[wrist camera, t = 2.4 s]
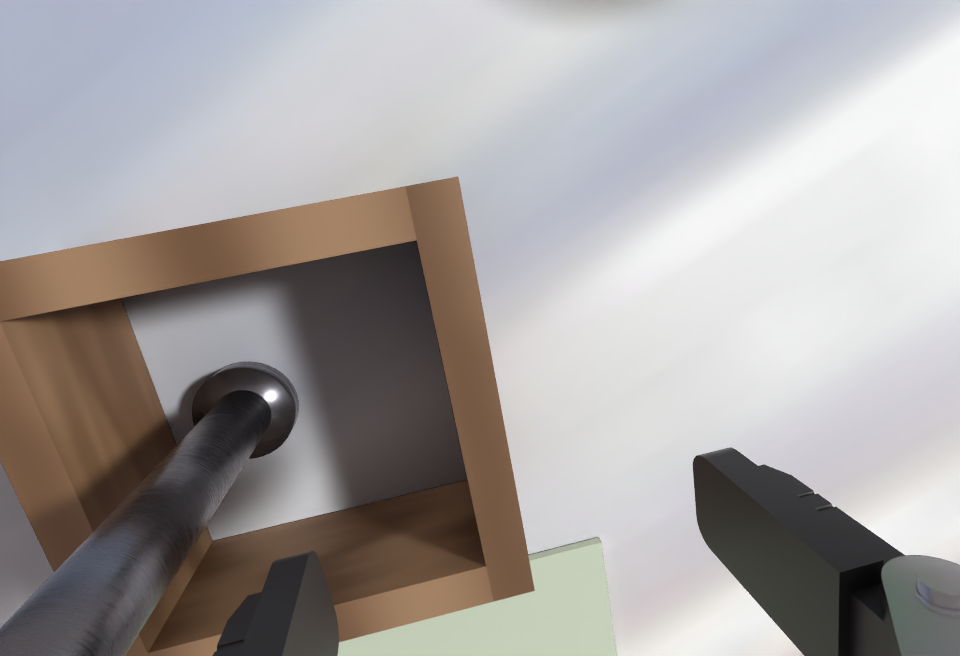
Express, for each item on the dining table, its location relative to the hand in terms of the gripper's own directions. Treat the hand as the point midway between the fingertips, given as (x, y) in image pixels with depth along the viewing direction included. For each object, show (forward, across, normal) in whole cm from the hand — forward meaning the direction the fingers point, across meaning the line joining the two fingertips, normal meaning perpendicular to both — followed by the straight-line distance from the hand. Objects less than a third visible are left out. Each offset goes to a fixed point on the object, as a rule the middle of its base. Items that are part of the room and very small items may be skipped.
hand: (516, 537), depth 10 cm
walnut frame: (+13, +7, 0) cm, 14 cm away
